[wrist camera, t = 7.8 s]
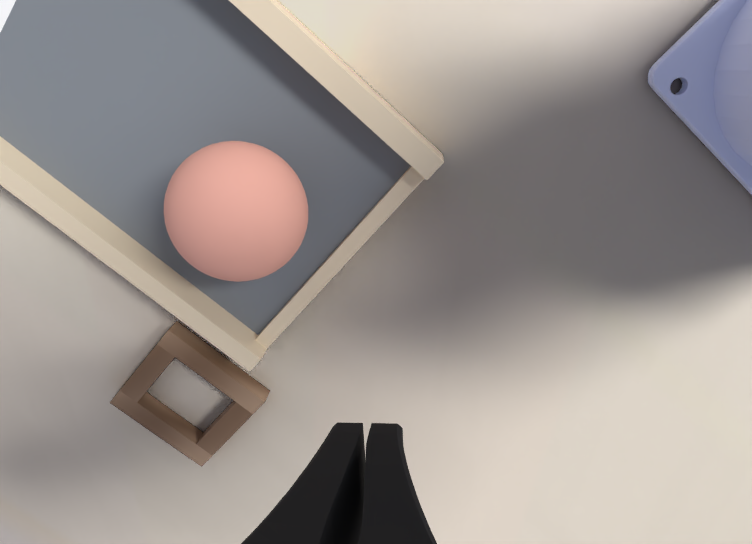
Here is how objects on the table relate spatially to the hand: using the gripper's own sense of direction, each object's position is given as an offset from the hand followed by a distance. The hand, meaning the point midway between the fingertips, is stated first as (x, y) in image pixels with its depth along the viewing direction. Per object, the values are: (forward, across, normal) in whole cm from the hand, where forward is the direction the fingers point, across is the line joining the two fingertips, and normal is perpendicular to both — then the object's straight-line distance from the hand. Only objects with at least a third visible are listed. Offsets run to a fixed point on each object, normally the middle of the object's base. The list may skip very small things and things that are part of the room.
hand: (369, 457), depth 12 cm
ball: (+6, +5, -4) cm, 9 cm away
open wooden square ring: (+9, +9, +4) cm, 13 cm away
